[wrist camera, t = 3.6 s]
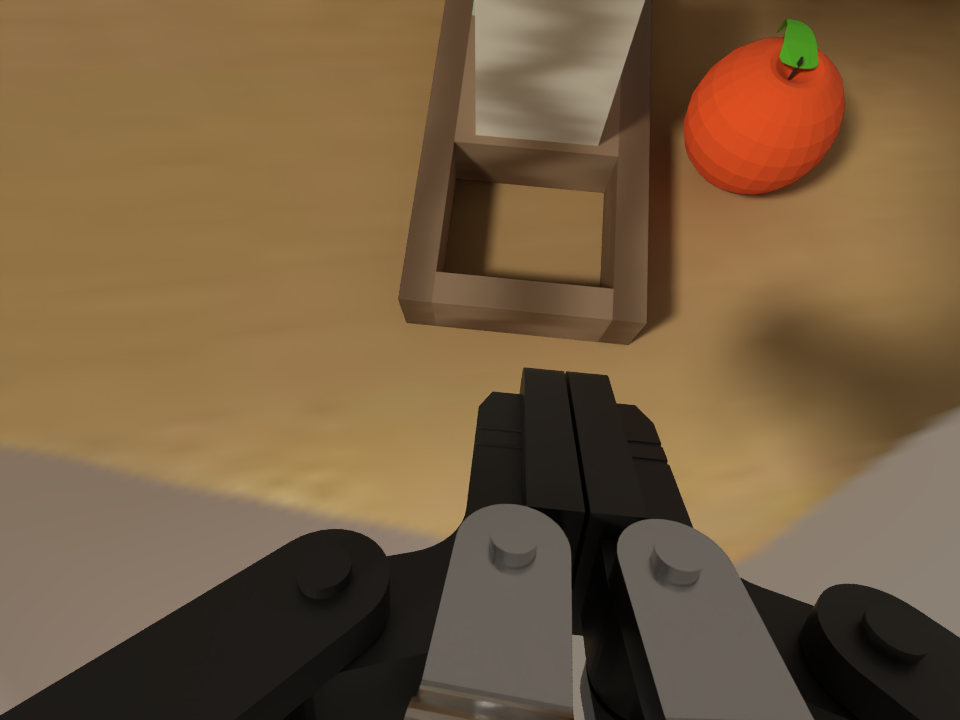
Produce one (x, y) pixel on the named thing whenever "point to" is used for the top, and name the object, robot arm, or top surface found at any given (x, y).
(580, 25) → the cream block
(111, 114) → the top surface
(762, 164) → the clementine
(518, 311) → the walnut lane
